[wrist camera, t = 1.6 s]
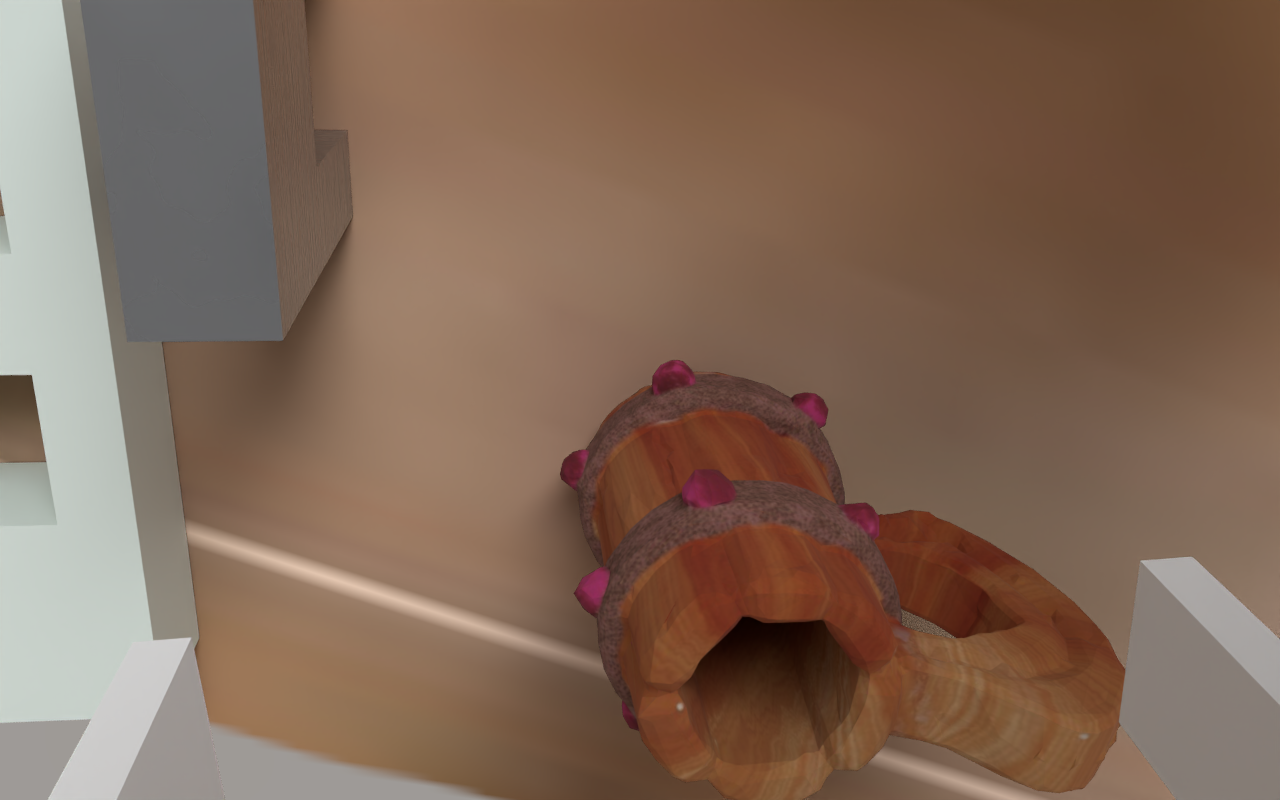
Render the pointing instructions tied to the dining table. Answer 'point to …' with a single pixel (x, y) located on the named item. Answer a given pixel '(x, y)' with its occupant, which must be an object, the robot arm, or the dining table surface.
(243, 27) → the grey block
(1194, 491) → the dining table surface
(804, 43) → the dining table surface
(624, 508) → the mug
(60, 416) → the pale board with holes
